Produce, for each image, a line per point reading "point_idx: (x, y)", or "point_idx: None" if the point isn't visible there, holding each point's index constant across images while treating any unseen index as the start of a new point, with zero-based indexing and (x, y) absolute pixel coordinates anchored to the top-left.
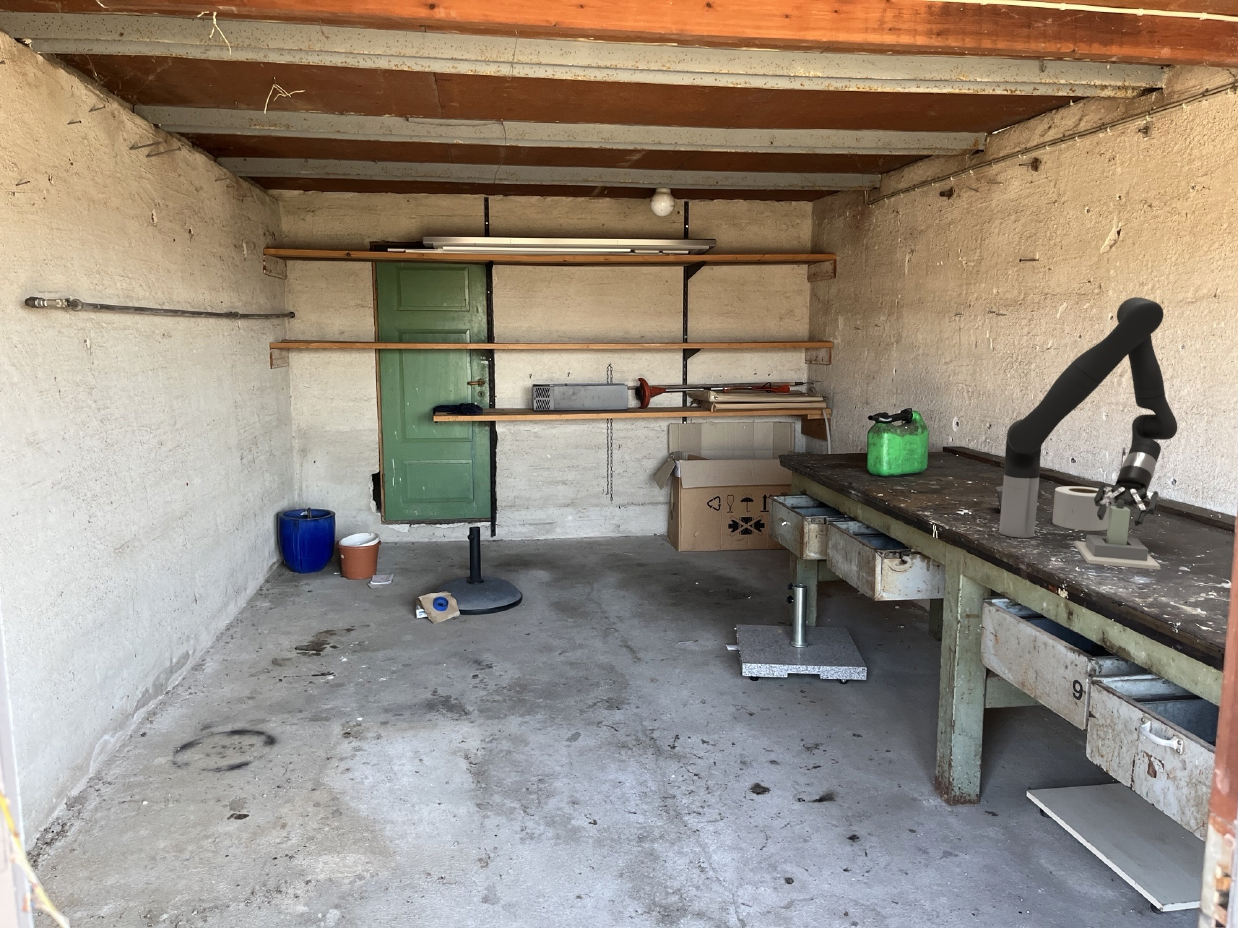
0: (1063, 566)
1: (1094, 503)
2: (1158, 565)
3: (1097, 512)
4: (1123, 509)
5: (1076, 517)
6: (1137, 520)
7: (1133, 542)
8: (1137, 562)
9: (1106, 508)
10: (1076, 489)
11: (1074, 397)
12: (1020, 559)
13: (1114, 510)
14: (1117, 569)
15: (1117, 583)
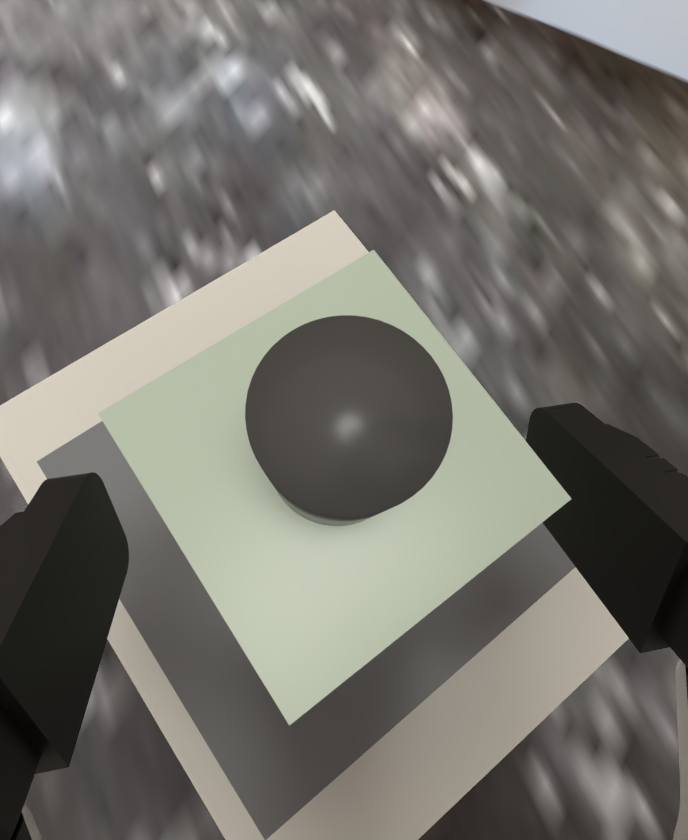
0: (373, 86)
1: None
2: None
3: (636, 442)
4: (226, 375)
5: None
6: (46, 484)
7: (216, 615)
8: (113, 378)
9: (675, 683)
10: None
11: None
12: (553, 51)
13: (346, 283)
14: (175, 234)
15: (76, 12)
